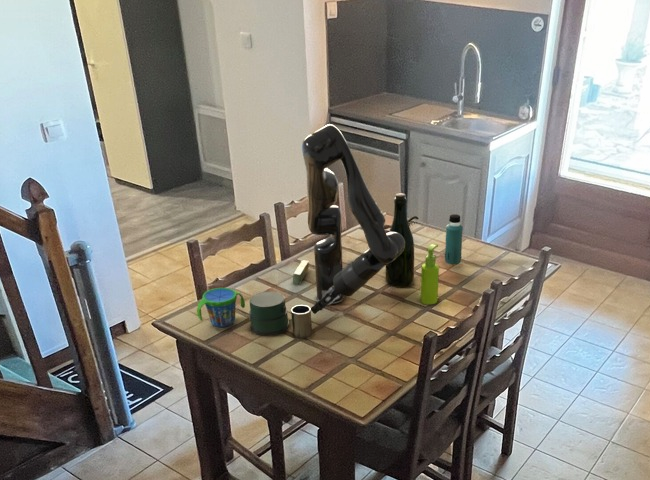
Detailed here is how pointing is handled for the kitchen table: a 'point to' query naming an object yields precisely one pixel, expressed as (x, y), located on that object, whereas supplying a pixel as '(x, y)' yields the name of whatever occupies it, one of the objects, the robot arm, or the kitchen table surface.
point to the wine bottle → (403, 265)
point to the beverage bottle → (453, 240)
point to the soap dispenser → (429, 278)
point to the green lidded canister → (268, 314)
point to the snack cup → (220, 306)
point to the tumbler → (301, 321)
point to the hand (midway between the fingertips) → (319, 305)
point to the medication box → (300, 272)
